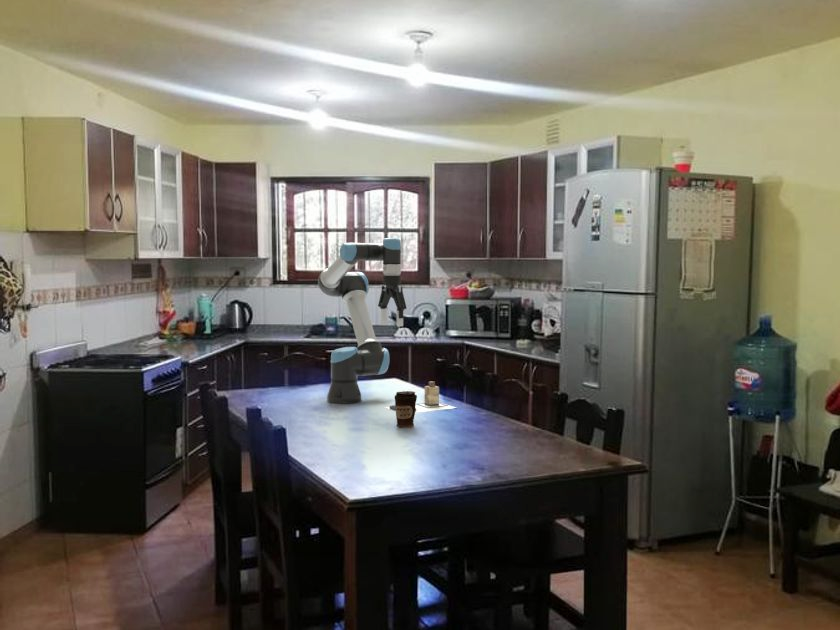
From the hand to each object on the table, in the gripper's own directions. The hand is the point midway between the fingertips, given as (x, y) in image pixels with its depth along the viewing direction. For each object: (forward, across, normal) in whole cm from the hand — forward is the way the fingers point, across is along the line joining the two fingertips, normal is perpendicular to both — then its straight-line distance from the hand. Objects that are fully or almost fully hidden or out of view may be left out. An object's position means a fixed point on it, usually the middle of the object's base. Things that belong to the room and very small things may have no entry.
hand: (392, 325), depth 324 cm
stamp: (+34, +8, +15) cm, 38 cm away
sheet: (+35, +10, +8) cm, 37 cm away
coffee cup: (+35, +37, -15) cm, 53 cm away
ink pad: (+34, +11, -1) cm, 36 cm away
